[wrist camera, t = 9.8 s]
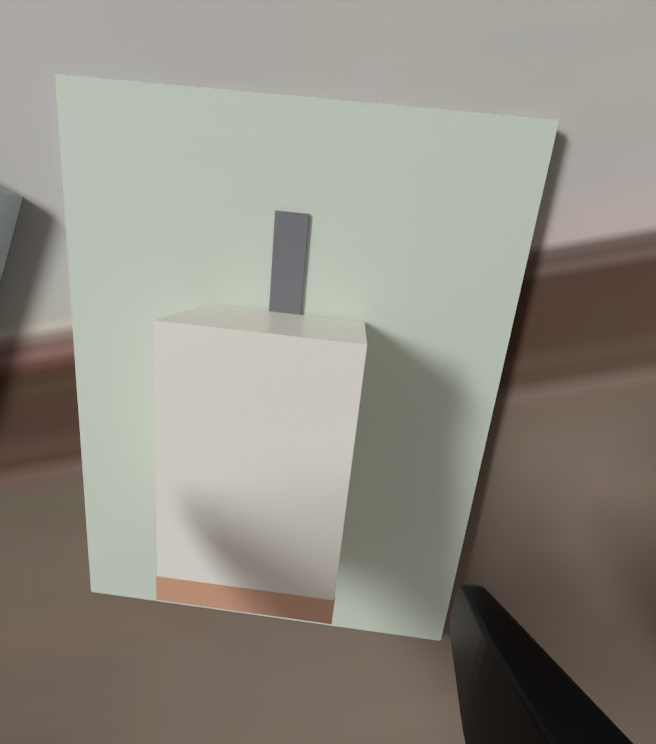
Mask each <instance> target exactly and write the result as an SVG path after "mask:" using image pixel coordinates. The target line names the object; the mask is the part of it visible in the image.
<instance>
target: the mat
mask: <svg viewBox="0 0 656 744" xmlns="http://www.w3.org/2000/svg"><path fill="white" fill-rule="evenodd" d="M55 85H56V99H57V113H58V127H59V141H60V156H61V170H62V184H63V198H64V212H65V227H66V241H67V255H68V269H69V283H70V298H71V312H72V326H73V340H74V354H75V369H76V383H77V397H78V411H79V425H80V440H81V454H82V468H83V482H84V496H85V511H86V525H87V539H88V553H89V567H90V581H91V592H97V593H104V594H111V595H118V596H125V597H133V598H140V599H147V600H154V601H161V602H168V603H175V604H182V605H189V606H196V607H204V608H211V609H218V610H225V611H232V612H239V613H246V614H253V615H260V616H267V617H275V618H282V619H289V620H296V621H303V622H310V623H317V624H324V625H331V626H338V627H346V628H353V629H360V630H367V631H374V632H381V633H388V634H395V635H402V636H409V637H416V638H424V639H431V640H438V641H441V638H442V633H443V629H444V624H445V620H446V616H447V611H448V607H449V602H450V598H451V594H452V589H453V585H454V580H455V576H456V572H457V567H458V563H459V558H460V554H461V550H462V545H463V541H464V537H465V532H466V528H467V523H468V519H469V515H470V510H471V506H472V501H473V497H474V493H475V488H476V484H477V479H478V475H479V471H480V466H481V462H482V457H483V453H484V449H485V444H486V440H487V435H488V431H489V427H490V422H491V418H492V413H493V409H494V405H495V400H496V396H497V391H498V387H499V383H500V378H501V374H502V369H503V365H504V361H505V356H506V352H507V348H508V343H509V339H510V334H511V330H512V326H513V321H514V317H515V312H516V308H517V304H518V299H519V295H520V290H521V286H522V282H523V277H524V273H525V268H526V264H527V260H528V255H529V251H530V246H531V242H532V238H533V233H534V229H535V224H536V220H537V216H538V211H539V207H540V202H541V198H542V194H543V189H544V185H545V181H546V176H547V172H548V167H549V163H550V159H551V154H552V150H553V145H554V141H555V137H556V132H557V128H558V123H559V120H553V119H542V118H531V117H520V116H509V115H498V114H487V113H476V112H465V111H454V110H443V109H433V108H422V107H411V106H400V105H389V104H378V103H367V102H356V101H345V100H334V99H323V98H312V97H301V96H290V95H279V94H268V93H257V92H246V91H235V90H224V89H213V88H203V87H192V86H181V85H170V84H159V83H148V82H137V81H126V80H115V79H104V78H93V77H82V76H71V75H60V74H55ZM205 304H209V305H218V306H227V307H236V308H245V309H254V310H263V311H272V312H281V313H290V314H299V315H308V316H317V317H326V318H335V319H344V320H353V321H362V322H365V329H366V338H367V351H366V358H365V366H364V374H363V381H362V389H361V397H360V404H359V412H358V420H357V427H356V435H355V443H354V450H353V458H352V466H351V473H350V481H349V489H348V496H347V504H346V512H345V519H344V527H343V535H342V542H341V550H340V558H339V565H338V573H337V581H336V588H335V602H334V610H333V617H332V624H326V623H319V622H312V621H305V620H298V619H291V618H284V617H276V616H269V615H262V614H255V613H248V612H241V611H234V610H227V609H219V608H212V607H205V606H198V605H191V604H184V603H177V602H170V601H162V600H156V576H157V536H156V469H155V401H154V333H153V320H156V319H159V318H163V317H166V316H169V315H172V314H176V313H179V312H182V311H186V310H189V309H192V308H195V307H199V306H202V305H205Z"/></svg>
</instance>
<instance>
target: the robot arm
mask: <svg viewBox="0 0 656 744" xmlns="http://www.w3.org/2000/svg"><path fill="white" fill-rule="evenodd" d="M450 636H451V644H452V652H453V659H454V667H455V675H456V682H457V690H458V698H459V706H460V713H461V720H462V727H463V733H464V738H465V743H466V744H633V743H632V742H631V741H630V740H629V739H628V738H627V737H626V736H625V734H624V733H623V732H622V731H621V730H620V729H619V728H618V727H617V726H616V725H615V724H614V723H613V722H612V721H611V720H610V719H609V718H608V717H607V716H606V715H605V714H604V712H603V711H602V710H601V709H600V708H599V707H598V706H597V705H596V704H595V703H594V702H593V701H592V700H591V699H590V698H589V697H588V696H587V695H586V694H585V693H584V691H583V690H582V689H581V688H580V687H579V686H578V685H577V684H576V683H575V682H574V681H573V680H572V679H571V678H570V677H569V676H568V675H567V674H566V673H565V672H564V670H563V669H562V668H561V667H560V666H559V665H558V664H557V663H556V662H555V661H554V660H553V659H552V658H551V657H550V656H549V655H548V654H547V653H546V652H545V651H544V649H543V648H542V647H541V646H540V645H539V644H538V643H537V642H536V641H535V640H534V639H533V638H532V637H531V636H530V635H529V634H528V633H527V632H526V631H525V630H524V628H523V627H522V626H521V625H520V624H519V623H518V622H517V621H516V620H515V619H514V618H513V617H512V616H511V615H510V614H509V613H508V612H507V611H506V610H505V609H504V607H503V606H502V605H501V604H500V603H499V602H498V601H497V600H496V599H495V598H494V597H493V596H492V595H491V594H490V593H489V592H488V591H487V590H486V589H485V588H484V587H482V586H480V585H473V584H466V583H462V584H460V585H459V587H458V588H457V592H456V596H455V601H454V605H453V609H452V613H451V618H450Z"/></svg>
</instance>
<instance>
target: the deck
mask: <svg viewBox="0 0 656 744" xmlns="http://www.w3.org/2000/svg"><path fill="white" fill-rule="evenodd" d="M153 333H154V401H155V469H156V536H157V576H156V600H162V601H170V602H177V603H184V604H191V605H198V606H205V607H212V608H219V609H227V610H234V611H241V612H248V613H255V614H262V615H269V616H276V617H284V618H291V619H298V620H305V621H312V622H319V623H326V624H332V617H333V610H334V602H335V588H336V581H337V573H338V565H339V558H340V550H341V542H342V535H343V527H344V519H345V512H346V504H347V496H348V489H349V481H350V473H351V466H352V458H353V450H354V443H355V435H356V427H357V420H358V412H359V404H360V397H361V389H362V381H363V374H364V366H365V358H366V351H367V338H366V329H365V322H362V321H353V320H344V319H335V318H326V317H317V316H308V315H299V314H290V313H281V312H272V311H263V310H254V309H245V308H236V307H227V306H218V305H209V304H205V305H202V306H199V307H195V308H192V309H189V310H186V311H182V312H179V313H176V314H172V315H169V316H166V317H163V318H159V319H156V320H153Z"/></svg>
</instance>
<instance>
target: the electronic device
mask: <svg viewBox="0 0 656 744" xmlns="http://www.w3.org/2000/svg"><path fill="white" fill-rule="evenodd" d="M22 199H23V197H22V196H20V195H18V194H16V193H14V192H12V191H10V190H8V189H6V188H4V187H3V186H1V185H0V281H1V278H2V274H3V270H4V266H5V263H6V259H7V255H8V251H9V248H10V244H11V240H12V236H13V233H14V229H15V225H16V221H17V218H18V214H19V210H20V206H21V203H22Z"/></svg>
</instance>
